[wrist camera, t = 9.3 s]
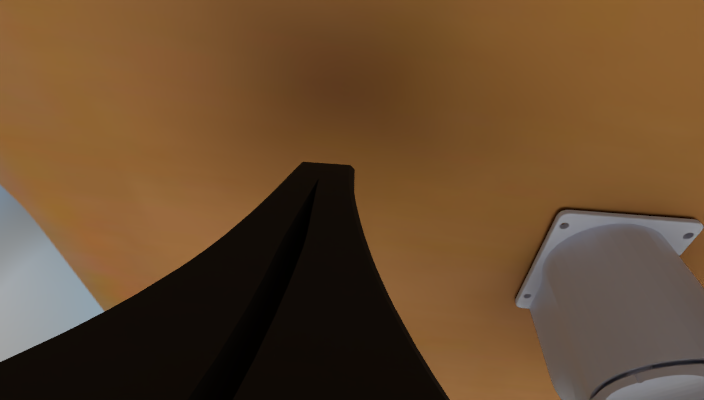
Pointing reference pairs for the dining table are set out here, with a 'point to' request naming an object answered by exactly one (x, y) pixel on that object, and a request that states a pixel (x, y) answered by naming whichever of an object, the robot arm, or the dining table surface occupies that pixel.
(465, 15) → the dining table surface
